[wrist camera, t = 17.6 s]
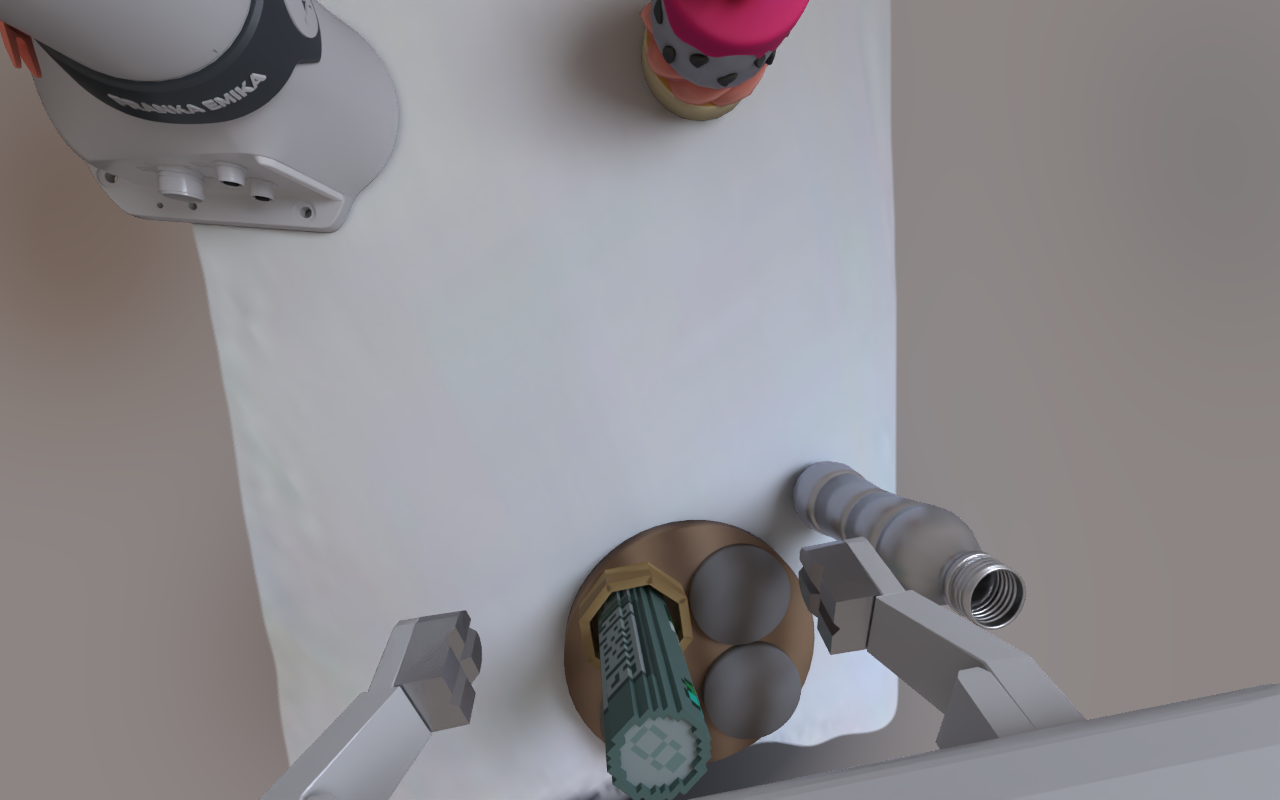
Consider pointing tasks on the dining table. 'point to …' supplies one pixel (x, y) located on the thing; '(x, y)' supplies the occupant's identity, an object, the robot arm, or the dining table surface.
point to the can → (648, 699)
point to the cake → (711, 50)
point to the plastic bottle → (912, 543)
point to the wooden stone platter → (706, 626)
